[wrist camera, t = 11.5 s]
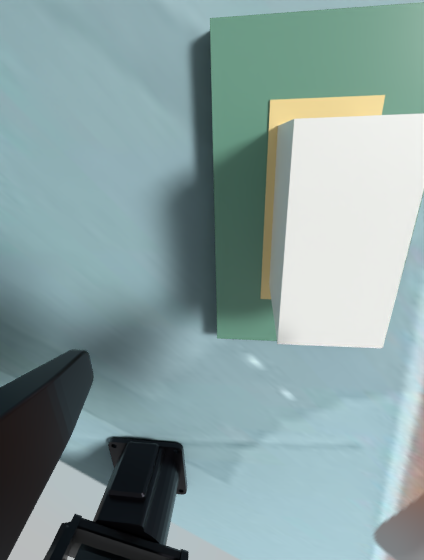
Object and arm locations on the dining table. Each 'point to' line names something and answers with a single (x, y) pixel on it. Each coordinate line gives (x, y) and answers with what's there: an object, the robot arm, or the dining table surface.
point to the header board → (287, 106)
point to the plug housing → (343, 225)
